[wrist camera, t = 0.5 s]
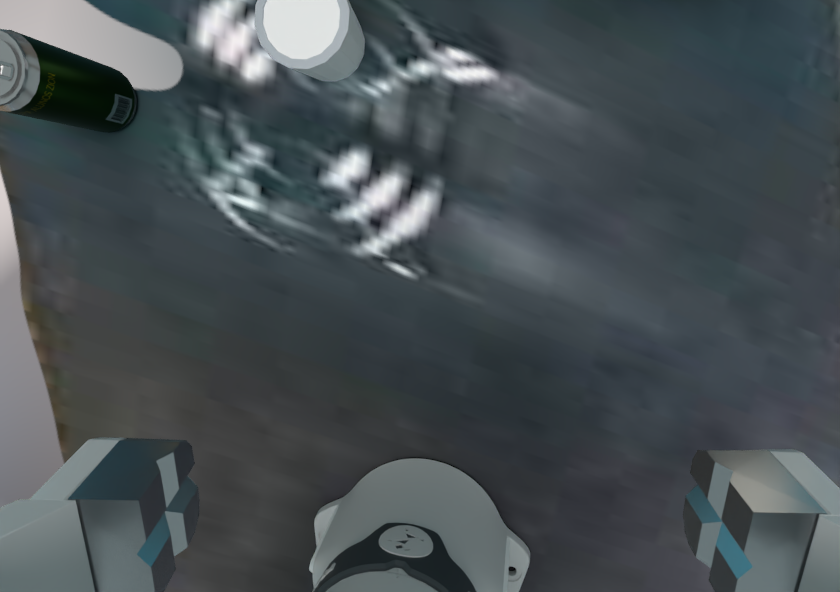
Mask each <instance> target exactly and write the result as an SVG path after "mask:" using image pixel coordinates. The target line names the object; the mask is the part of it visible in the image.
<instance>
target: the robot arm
mask: <svg viewBox="0 0 840 592" xmlns="http://www.w3.org/2000/svg"><path fill="white" fill-rule="evenodd" d="M194 464H195V462H194V456H193V451H192V446H191V445H190V444H189V443H188V442H187V441H186V440H164V439H138V438H126V439H125V438H93V439H89V440H88V441H87V442H86V443H85V444H84V445H83V446H82V447H81V448H80V449H79V450H78V451H77V452H76V453H75V454H74V455H73V456H72V457H71V458H70V459H69V460H68V461H67V462H66V463H65V464H64V465H63V466H62V467H61V468H60V469H59V470H58V471H57V472H56V473H55V474H54V475H53V476H52V477H51V478H50V479H49V480H48V481H47V482H46V483H45V484H44V485H43V486H42V487H41V488H40V489H39V490H38V491H37V492H36V493H35V494H34V495H33V496H32V497H31V498H30V499H18V500H16V501H14V502H12V503H10V504H8V505H5V506H3V507H1V508H0V592H164V590H165V588H166V587H167V585H168V583H169V581H170V579H171V577H172V575H173V574H174V572H175V570H176V567H175V560H174V556H175V555H177V554H178V553H180V552H181V551H183V550H184V549H186V548H187V547H188V545H189V543H190V541H191V539H192V537H193V535H194V533H195V529H196V525H197V521H198V517H199V501H200V500H199V492H198V487H197V485H196V484H195V483H194V482H193V481H192V480H191V479H190V478H189V477H188V476H187V475H188V474H189V472H190V471H191V469H192V467H193V466H194ZM690 473H691V475H692V476H693V478H694V480H695V481H696V483H697V484H698V485H697V486H695V487H694V488H693V489H692V490H691V491H690V492H689V493H688V494H687V495H686V497H685V504H684V511H683V518H684V528H685V534H686V537H687V540H688V543H689V546H690V547H691V549H692V551H693V553H694V555H695V557H696V558H697V559H699V560H700V561H702V562H703V563H705V564H706V565H707V566H709V567H710V568H711V571H710V576H709V582H710V583H711V585H712V587H713V589H714V590H715V592H840V488H839V487H838V486H837V485H836V484H835V483H833V482H832V481H831V480H830V479H829V478H828V477H827V476H826V475H825V474H824V473H823V472H822V471H821V470H820V469H819V468H818V467H817V466H816V465H815V464H814V463H813V462H812V461H811V460H810V459H809V458H808V457H807V456H806V455H805V454H804V453H802V452H800V451H797V450H795V449H773V450H697V452H696V454H695V456H694V458H693V460H692V465H691V470H690ZM314 528H315V537H316V546H317V548H316V551H315V553H314V555H313V557H312V559H311V562H310V566H309V570H310V572H312V573H313V587H314V589H313V591H312V592H519V590H520V588H521V585H522V583H523V580H524V577H525V575H526V572H527V570H528V567H529V563H530V550H529V548H528V547H527V545H526V544H525V543H524V542H523V541H522V540H521V539H520V538H519V537H518V536H517V535H515V534H514V533H513V532H512V531H511V530H510V529H508V528H507V527H506V525H505V524H504V522H503V520H502V519H501V517H500V515H499V513H498V511H497V509H496V507H495V505H494V503H493V502H492V500H491V499H490V497H489V496H488V494H487V493H486V492H485V491H484V490H483V488H482V487H481V486H480V485H479V484H478V483H477V482H476V481H474V480H473V479H472V478H471V477H469V476H468V475H466V474H465V473H463V472H462V471H460V470H458V469H456V468H454V467H452V466H450V465H448V464H445V463H442V462H438V461H434V460H429V459H420V458H410V459H401V460H396V461H392V462H389V463H386V464H384V465H382V466H379V467H377V468H376V469H374V470H372V471H371V472H369V473H368V474H367V475H365V476H364V477H363V478H362V479H361V480H360V481H359V482H358V483H357V484H356V485H355V486H354V488H353V489H352V490H351V491H350V492H349V493H348V494H347V495H345V496H344V497H342V498H340V499H337V500H335V501H333V502H330V503H328V504H326V505H325V506H323V507H322V508H320V509H319V511H318V512H317V515H316V517H315V520H314ZM510 566H511V567H514V568H515V569H516V570H514V571H509V567H510Z"/></svg>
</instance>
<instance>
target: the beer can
mask: <svg viewBox="0 0 840 592" xmlns="http://www.w3.org/2000/svg"><path fill="white" fill-rule="evenodd" d="M136 105H137V99H136V94H135V90H134V89H133V87H132V85H131V84H130V82H129V80H128V79H127V78H126V77H125V76H124V75H123V74H122V73H121V72H120V71H117V70H115V69H113V68H111V67H108V66H106V65H103V64H100V63H98V62H95V61H92V60H90V59H87V58H84V57H82V56H79V55H76V54H73V53H71V52H68V51H65V50H63V49H60V48H57V47H55V46H52V45H49V44H47V43H44V42H41V41H39V40H36V39H33V38H31V37H28V36H25V35H22V34H20V33H17V32H14V31H12V30H4V29H3V30H2V29H0V111H4V112H8V113H13V114H18V115H23V116H28V117H32V118H37V119H42V120H47V121H52V122H57V123H61V124H66V125H71V126H76V127H81V128H86V129H90V130H95V131H100V132H113V131H117V130H119V129H121V128H123V127H124V126H126V125H127V124H129V122H130V121H131V119H132V118H133V117H134V114H135V111H136Z"/></svg>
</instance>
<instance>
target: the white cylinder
mask: <svg viewBox="0 0 840 592" xmlns="http://www.w3.org/2000/svg"><path fill="white" fill-rule="evenodd" d="M255 28H256V32H257V35H258V38H259V41H260V44H261V46H262V47H263V48H264V49H265V50H266V52H267V53H268V54H269V55H270V57H271V58H272V59H273V60H275V61H277V62H279V63H281V64H283V65H284V66H286V67H288V68H290V69H293V70H295V71H298V72H300V73H303V74H305V75H308V76H310V77H313V78H316V79H318V80H321V81H328V82H337V81H339V80H342V79H345V78H347V77H349V76H350V75H351V74H352V73H353V72H354V71H355V70H356V69H357V68H358V67H359V64H360V62H361V60H362V58H363V56H364V48H365V38H364V35H363V32H362V29H361V26H360V24H359V22H358V19H357V17H356V15H355V13H354V11H353V9H352V7H351V5H350V3H349V0H258V1H257V3H256V6H255Z"/></svg>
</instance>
